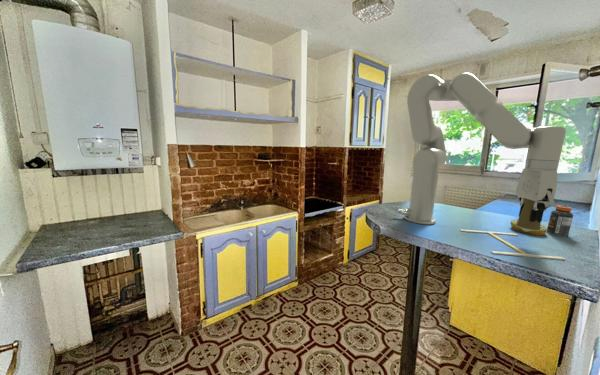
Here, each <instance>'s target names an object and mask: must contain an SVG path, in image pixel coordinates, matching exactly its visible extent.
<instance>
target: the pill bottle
mask: <svg viewBox="0 0 600 375" xmlns="http://www.w3.org/2000/svg"><path fill="white" fill-rule="evenodd" d="M573 218H574V213H572V207H571V206H567V205H560V204H559V205H556V206H555V209H554V210H552V211H551V212H550V216H549V220H548V224H547V227H546V229H547V232H546V233H548V234H550V235H553V236H557V237H568V236H569V234H570V230H571V227H572V226H571V225H572V224H573V223H572V222H573Z"/></svg>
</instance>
